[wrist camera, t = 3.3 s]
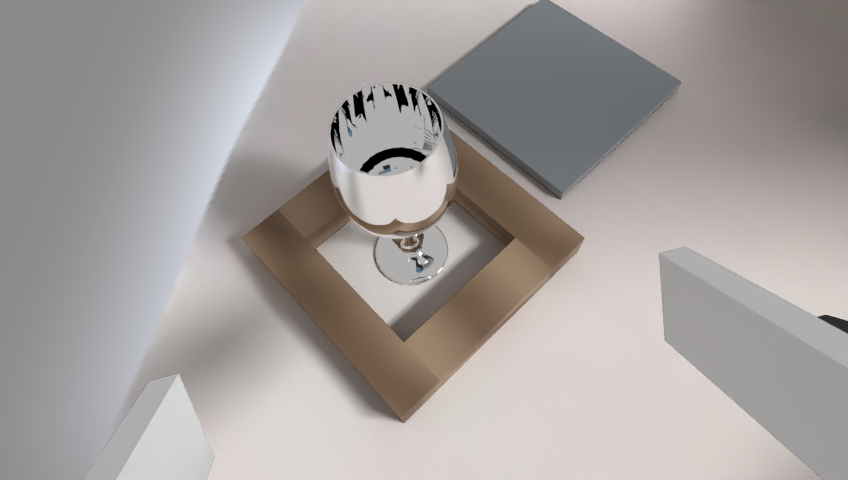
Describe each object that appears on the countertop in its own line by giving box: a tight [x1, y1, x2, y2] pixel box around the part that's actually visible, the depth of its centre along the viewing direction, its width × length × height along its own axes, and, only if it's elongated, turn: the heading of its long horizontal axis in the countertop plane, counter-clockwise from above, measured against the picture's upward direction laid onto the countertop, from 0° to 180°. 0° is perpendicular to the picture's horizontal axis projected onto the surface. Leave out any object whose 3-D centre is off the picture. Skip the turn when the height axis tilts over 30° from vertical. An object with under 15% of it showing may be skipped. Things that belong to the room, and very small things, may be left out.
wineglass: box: [328, 83, 459, 285], centre depth 26 cm, size 6×6×12 cm
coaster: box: [428, 0, 681, 199], centre depth 36 cm, size 12×12×1 cm
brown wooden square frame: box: [242, 130, 584, 423], centre depth 31 cm, size 14×14×2 cm
